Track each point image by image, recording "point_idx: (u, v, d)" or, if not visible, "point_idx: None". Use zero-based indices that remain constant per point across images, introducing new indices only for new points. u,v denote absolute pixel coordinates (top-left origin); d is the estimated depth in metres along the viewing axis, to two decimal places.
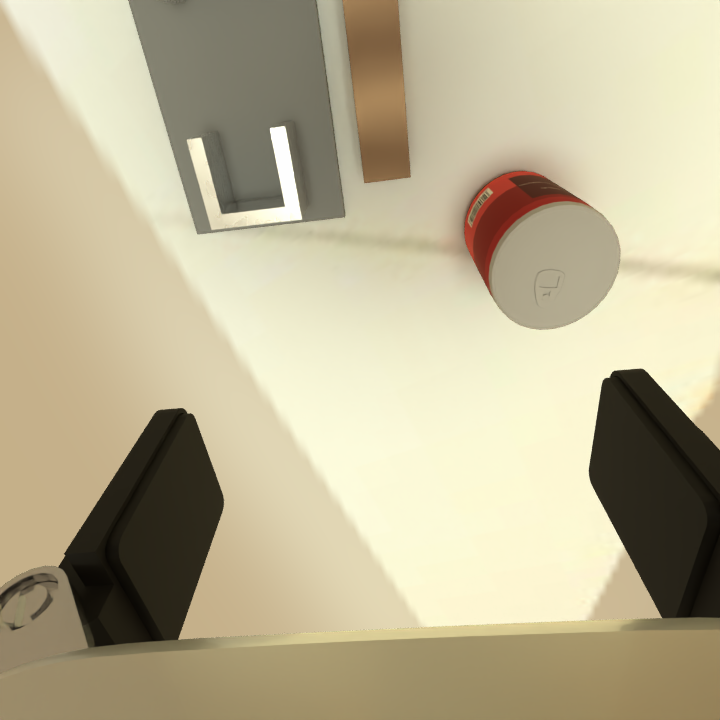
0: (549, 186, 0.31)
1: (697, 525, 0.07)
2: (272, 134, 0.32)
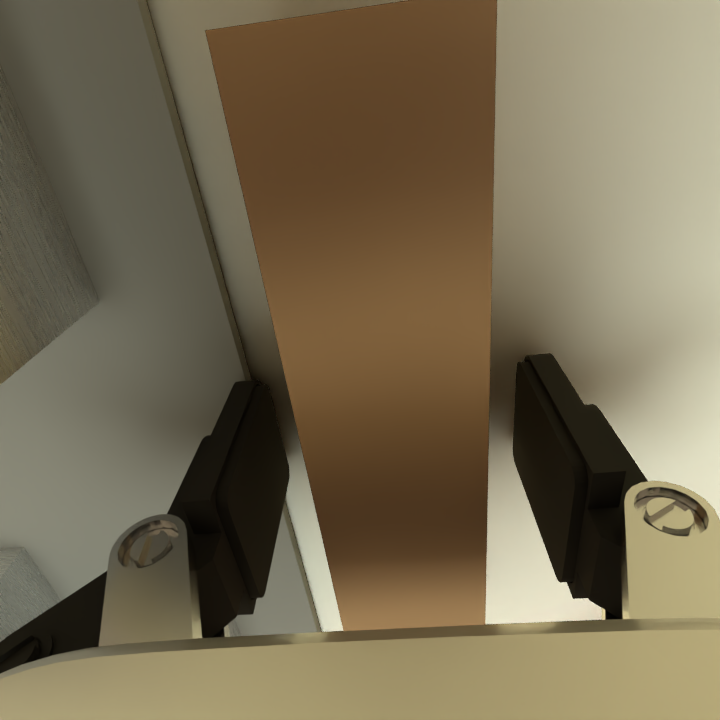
0: None
1: (570, 487, 0.08)
2: None
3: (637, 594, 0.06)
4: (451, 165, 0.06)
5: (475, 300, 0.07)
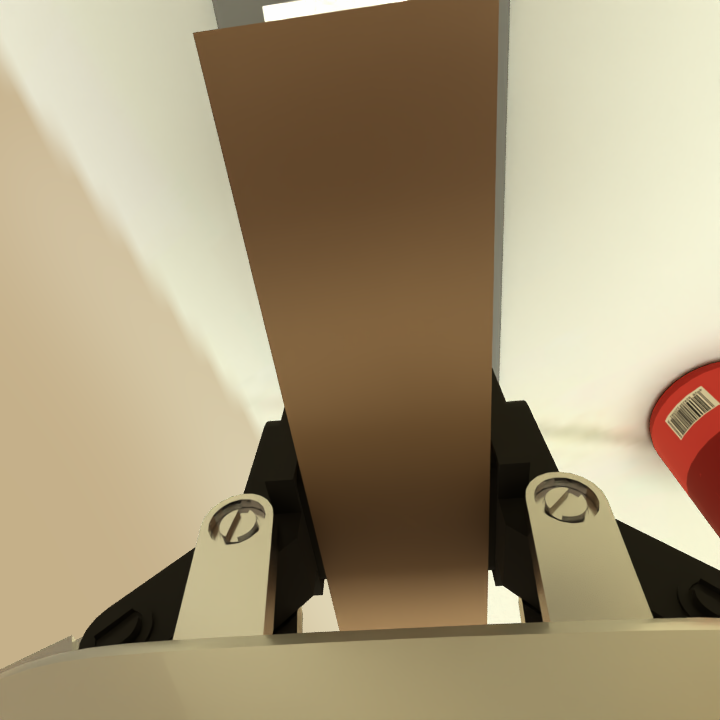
0: None
1: None
2: None
3: (551, 590, 0.06)
4: (452, 172, 0.06)
5: (476, 311, 0.07)
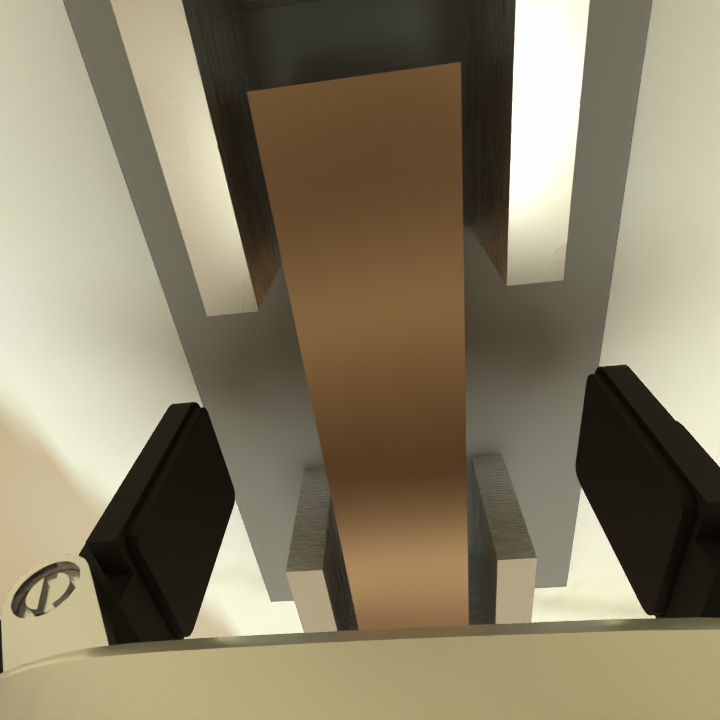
0: None
1: (673, 516, 0.07)
2: (501, 569, 0.13)
3: None
4: (430, 188, 0.08)
5: (451, 292, 0.09)
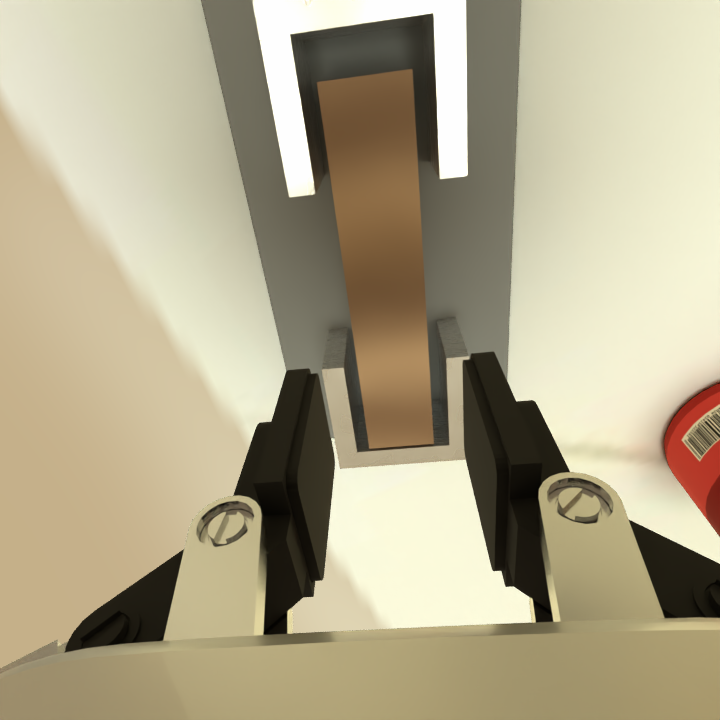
0: None
1: (494, 479, 0.09)
2: (448, 365, 0.22)
3: (563, 589, 0.06)
4: (400, 128, 0.17)
5: (412, 182, 0.18)
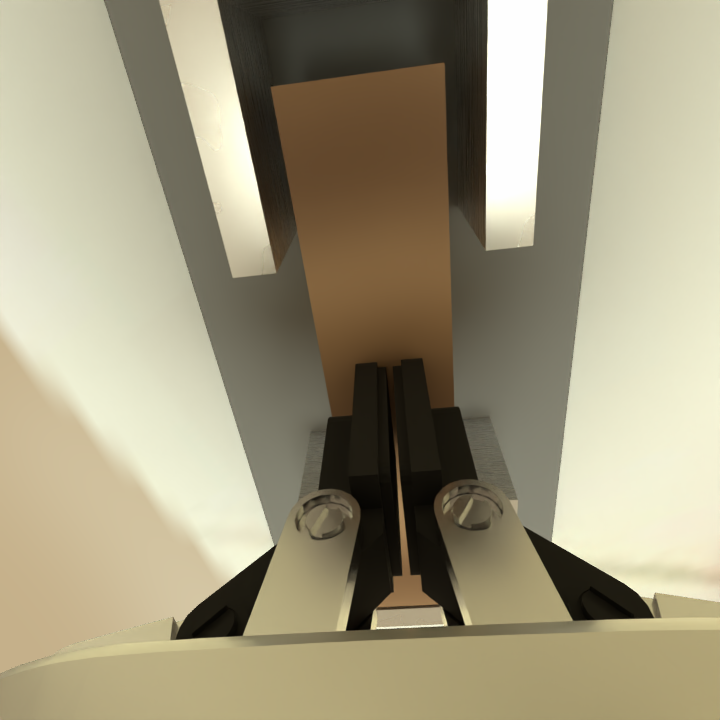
0: None
1: (401, 485, 0.09)
2: None
3: (473, 604, 0.06)
4: (421, 167, 0.10)
5: (439, 256, 0.11)
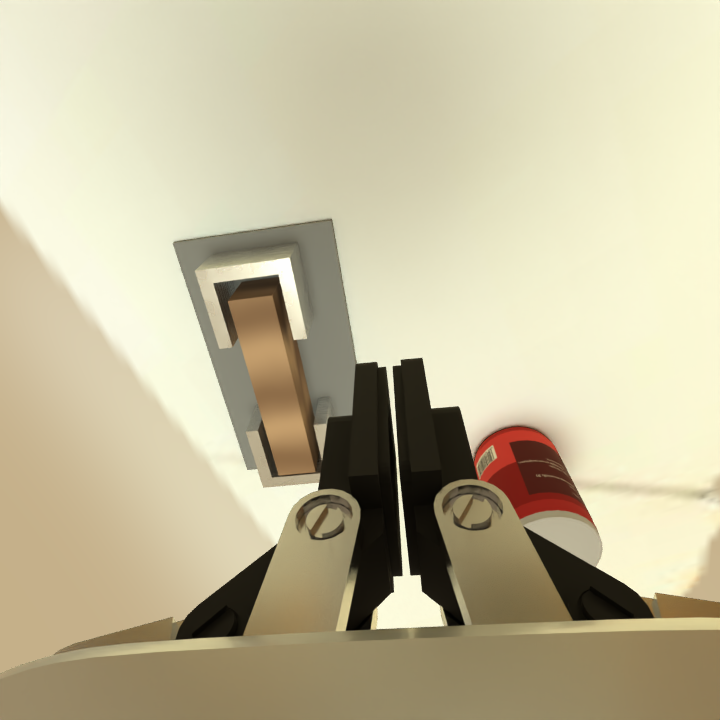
0: (543, 471, 0.38)
1: (401, 485, 0.09)
2: (315, 428, 0.39)
3: (473, 605, 0.06)
4: (270, 318, 0.35)
5: (280, 341, 0.35)
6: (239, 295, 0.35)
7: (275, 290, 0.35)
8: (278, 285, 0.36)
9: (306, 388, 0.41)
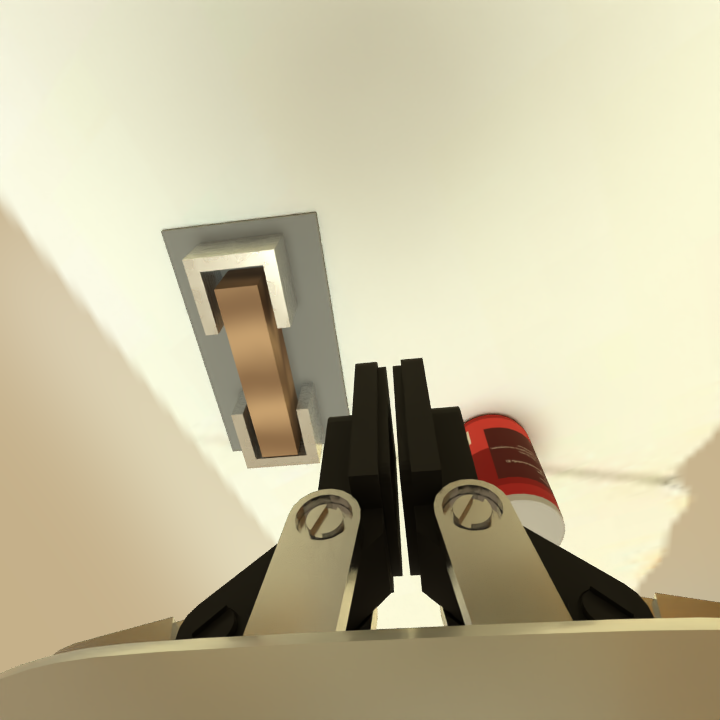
0: (513, 457, 0.40)
1: (401, 485, 0.09)
2: (298, 413, 0.41)
3: (473, 604, 0.06)
4: (255, 307, 0.36)
5: (264, 329, 0.37)
6: (225, 284, 0.36)
7: (260, 280, 0.36)
8: (263, 275, 0.37)
9: (290, 374, 0.43)
